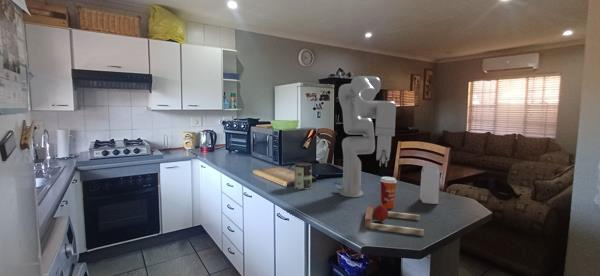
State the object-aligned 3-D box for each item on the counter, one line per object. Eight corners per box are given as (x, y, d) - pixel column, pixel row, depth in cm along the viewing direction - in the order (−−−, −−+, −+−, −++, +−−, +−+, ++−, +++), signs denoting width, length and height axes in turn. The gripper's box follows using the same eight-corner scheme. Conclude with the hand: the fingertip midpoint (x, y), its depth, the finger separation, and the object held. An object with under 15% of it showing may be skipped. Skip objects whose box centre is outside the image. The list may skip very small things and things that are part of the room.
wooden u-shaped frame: (364, 228, 113) (365, 218, 112) (367, 213, 128) (368, 204, 128) (423, 235, 106) (423, 225, 106) (419, 219, 122) (419, 210, 121)
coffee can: (311, 185, 174) (311, 162, 173) (311, 189, 164) (312, 165, 162) (294, 184, 174) (294, 162, 173) (294, 189, 164) (294, 165, 162)
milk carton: (438, 204, 141) (440, 166, 139) (422, 203, 142) (424, 165, 140) (434, 199, 148) (436, 163, 146) (419, 198, 149) (421, 163, 147)
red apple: (371, 219, 121) (372, 201, 121) (384, 219, 122) (385, 200, 121) (376, 224, 116) (376, 205, 115) (390, 224, 116) (390, 205, 115)
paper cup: (387, 210, 132) (388, 181, 130) (375, 205, 138) (376, 177, 137) (399, 208, 135) (400, 179, 134) (387, 203, 142) (388, 175, 141)
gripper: (376, 129, 124) (374, 168, 127) (374, 133, 108) (372, 177, 110) (394, 130, 122) (392, 169, 124) (394, 134, 106) (392, 179, 108)
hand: (383, 173), depth 117 cm, fingers open, 9 cm apart
